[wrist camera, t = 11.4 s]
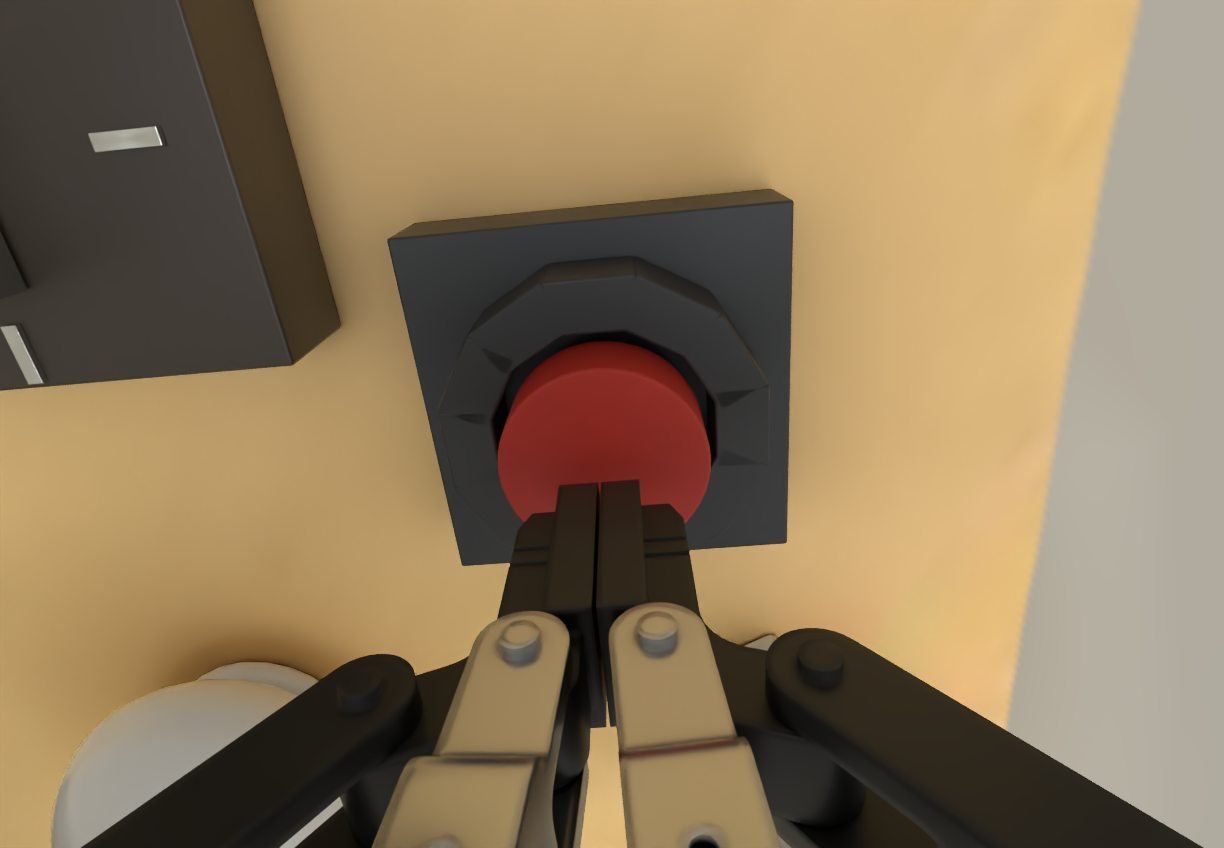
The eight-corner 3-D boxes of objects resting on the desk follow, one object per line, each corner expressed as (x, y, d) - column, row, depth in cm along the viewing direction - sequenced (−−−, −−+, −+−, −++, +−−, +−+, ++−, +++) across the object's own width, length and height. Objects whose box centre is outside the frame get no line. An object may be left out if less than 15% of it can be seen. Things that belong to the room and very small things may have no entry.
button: (524, 519, 17) (514, 564, 15) (494, 348, 15) (479, 378, 13) (705, 506, 16) (714, 549, 15) (698, 331, 14) (708, 359, 13)
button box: (476, 523, 21) (446, 610, 17) (413, 222, 17) (357, 255, 13) (771, 500, 20) (803, 586, 17) (773, 188, 17) (816, 212, 13)
